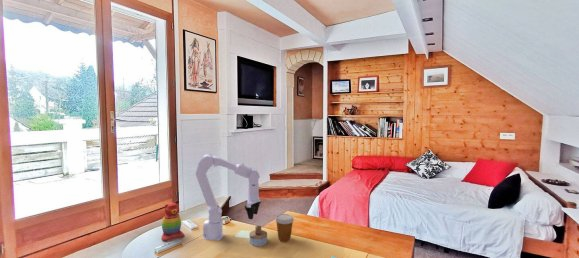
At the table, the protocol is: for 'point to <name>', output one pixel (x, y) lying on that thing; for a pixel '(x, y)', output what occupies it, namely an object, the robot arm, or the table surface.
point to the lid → (258, 233)
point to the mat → (243, 234)
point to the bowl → (258, 241)
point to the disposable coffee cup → (284, 227)
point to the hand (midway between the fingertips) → (253, 216)
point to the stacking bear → (171, 223)
